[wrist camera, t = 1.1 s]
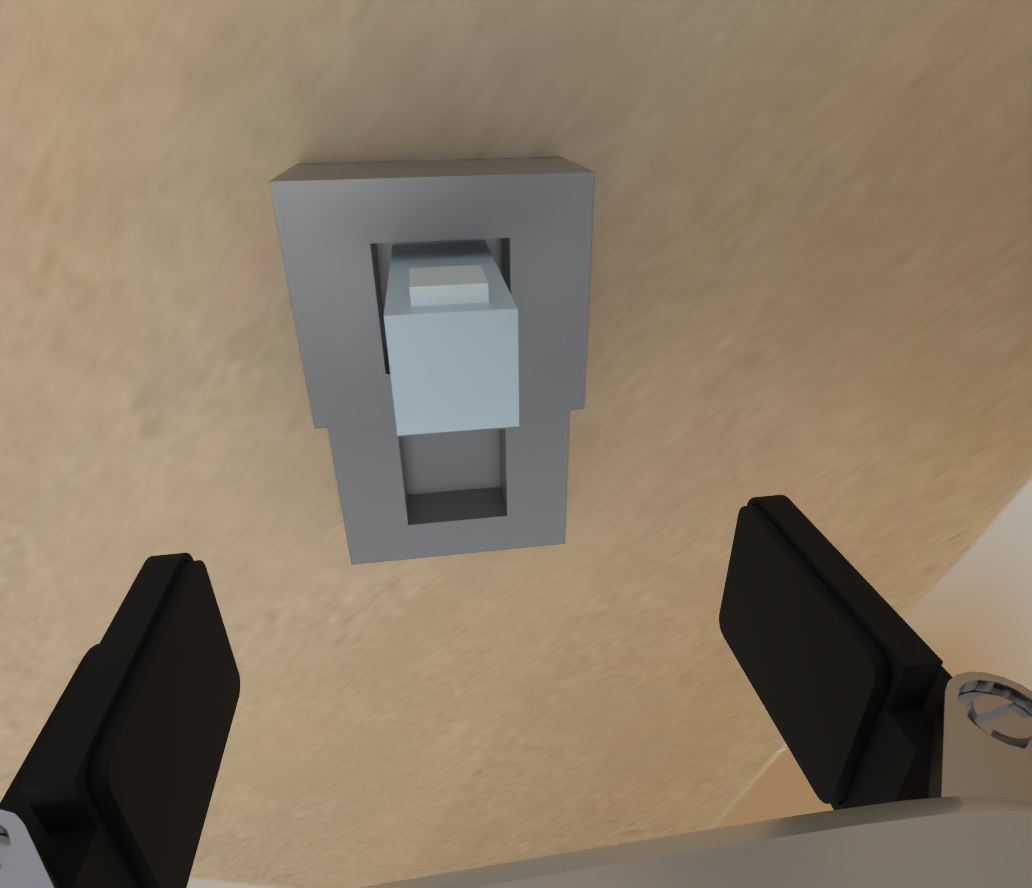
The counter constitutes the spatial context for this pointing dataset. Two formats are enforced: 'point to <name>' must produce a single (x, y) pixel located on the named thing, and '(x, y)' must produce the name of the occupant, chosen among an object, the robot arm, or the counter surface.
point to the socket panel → (364, 356)
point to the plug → (451, 339)
